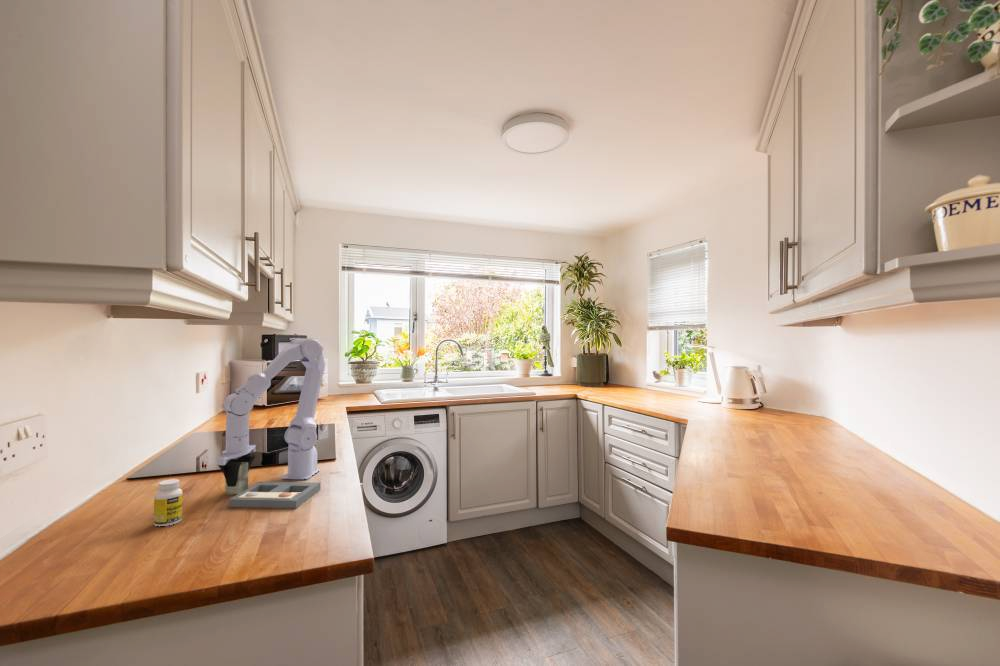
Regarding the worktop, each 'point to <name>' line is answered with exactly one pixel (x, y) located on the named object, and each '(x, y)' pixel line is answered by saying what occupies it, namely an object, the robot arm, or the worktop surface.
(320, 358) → the robot arm
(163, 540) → the worktop surface
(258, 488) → the board
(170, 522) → the supplement bottle
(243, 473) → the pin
